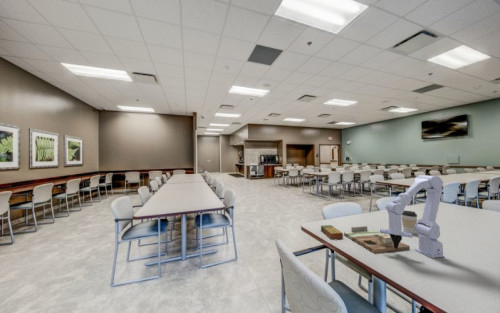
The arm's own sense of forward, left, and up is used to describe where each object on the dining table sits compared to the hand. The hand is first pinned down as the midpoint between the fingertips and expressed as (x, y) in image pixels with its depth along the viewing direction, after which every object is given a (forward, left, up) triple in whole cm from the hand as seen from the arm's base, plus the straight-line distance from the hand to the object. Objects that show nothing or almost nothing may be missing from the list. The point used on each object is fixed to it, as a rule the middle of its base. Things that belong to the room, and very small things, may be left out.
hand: (395, 247), depth 105 cm
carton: (+31, +20, -4) cm, 37 cm away
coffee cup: (+24, -38, -3) cm, 45 cm away
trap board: (+15, 0, -3) cm, 16 cm away
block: (+7, 0, -1) cm, 7 cm away
